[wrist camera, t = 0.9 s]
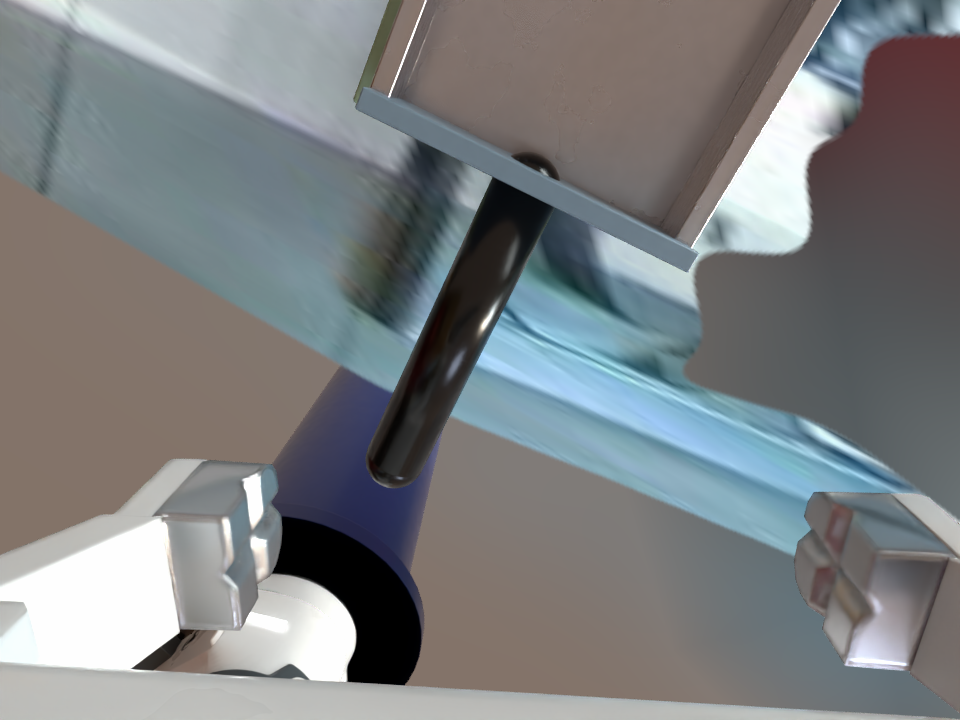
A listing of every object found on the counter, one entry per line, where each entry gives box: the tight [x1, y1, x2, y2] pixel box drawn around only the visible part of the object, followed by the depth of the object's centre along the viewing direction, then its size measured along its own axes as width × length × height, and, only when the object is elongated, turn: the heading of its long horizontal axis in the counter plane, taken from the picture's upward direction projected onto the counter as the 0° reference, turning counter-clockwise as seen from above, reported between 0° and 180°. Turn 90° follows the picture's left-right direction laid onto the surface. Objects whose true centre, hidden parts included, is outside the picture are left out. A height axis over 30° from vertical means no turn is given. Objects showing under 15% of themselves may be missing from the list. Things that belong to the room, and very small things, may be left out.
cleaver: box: [355, 0, 841, 488], centre depth 19 cm, size 23×10×4 cm, turn 155°
